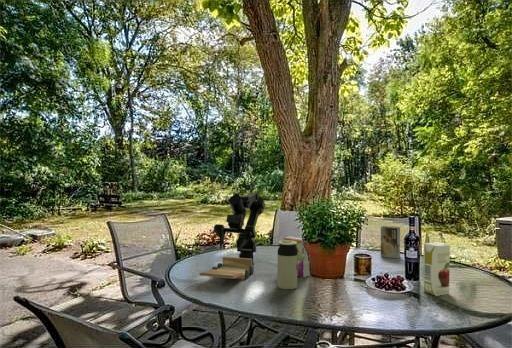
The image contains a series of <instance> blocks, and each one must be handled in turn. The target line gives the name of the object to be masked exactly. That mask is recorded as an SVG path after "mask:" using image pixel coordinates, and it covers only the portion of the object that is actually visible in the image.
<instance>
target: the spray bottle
mask: <svg viewBox="0 0 512 348" xmlns="http://www.w3.org/2000/svg"><path fill="white" fill-rule="evenodd" d="M283 240H290V241H296V242H297V244H296V248H297V250H298V264H297V276H300V277H299V278H301V277H305V276H307V275H309V276H310V260H309V261H308V256H307V253H306V251H305V248H304V243H303V240H302V237H296V236H291V235H290V236H285V237H283ZM305 278H306V277H305Z"/></svg>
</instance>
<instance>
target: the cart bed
mask: <svg viewBox="0 0 512 348" xmlns="http://www.w3.org/2000/svg"><path fill="white" fill-rule="evenodd" d="M211 270H223V271H235V272H244V273H243V275H242V276H239V277H236V278H233V280H245V279H249V278H250V275H253V274H254V272H255V267H254V265H252V259H248V258H239V257H232V256H222V262H218V263H217V265H216V266H215V265H214V266H212V268H211ZM218 278H219V279H220V278H221V277H218ZM229 279H231V280H232V278H229Z"/></svg>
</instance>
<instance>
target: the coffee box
mask: <svg viewBox="0 0 512 348" xmlns="http://www.w3.org/2000/svg"><path fill="white" fill-rule="evenodd" d="M380 257H381V258H389V259H390V258H391V259H399V258H401V227H399V226H389V225H386V226H385V225H383V226H381V227H380Z"/></svg>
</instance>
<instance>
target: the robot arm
mask: <svg viewBox="0 0 512 348" xmlns="http://www.w3.org/2000/svg"><path fill="white" fill-rule="evenodd" d="M228 203H229V206H230V208H231V210H232V211H233V213H232V214H227V215H226V221H225V222H226V223H227V227H225V226H224V224H222V223H221V224H220V223H219V224H218V223H217V224H214V225H213V231H214V234H215V235H216V236H218V238H219V246H220V247H222V246H223V244H224V241H225V238H226V237H225V236H226V233H234V234H238V237H237V239H236V242H235V243H236V245H235V246H236V250H237V252H239V253H238V258H248V259H252V266H254V265H255V263H254V253H257V245H256V242H255V239H256V236H257V231H256V225H257V223H258V219H259V216H260V215H261V214H263V213H264V210H265V209H266V208H265V207H266V202H265V200H264V198H263V197H262V196H260V193H259V192H249V193H248V194H245V195H240V193H237V192H236V193H235V192H234V194H233V195H231V196H230V197H229V198H228ZM247 209H248V210H249V215H248V218H247V222H246V225H245V219H246V217H247V213H248V212H247ZM244 225H245V226H244ZM243 226H244V228H243Z"/></svg>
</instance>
